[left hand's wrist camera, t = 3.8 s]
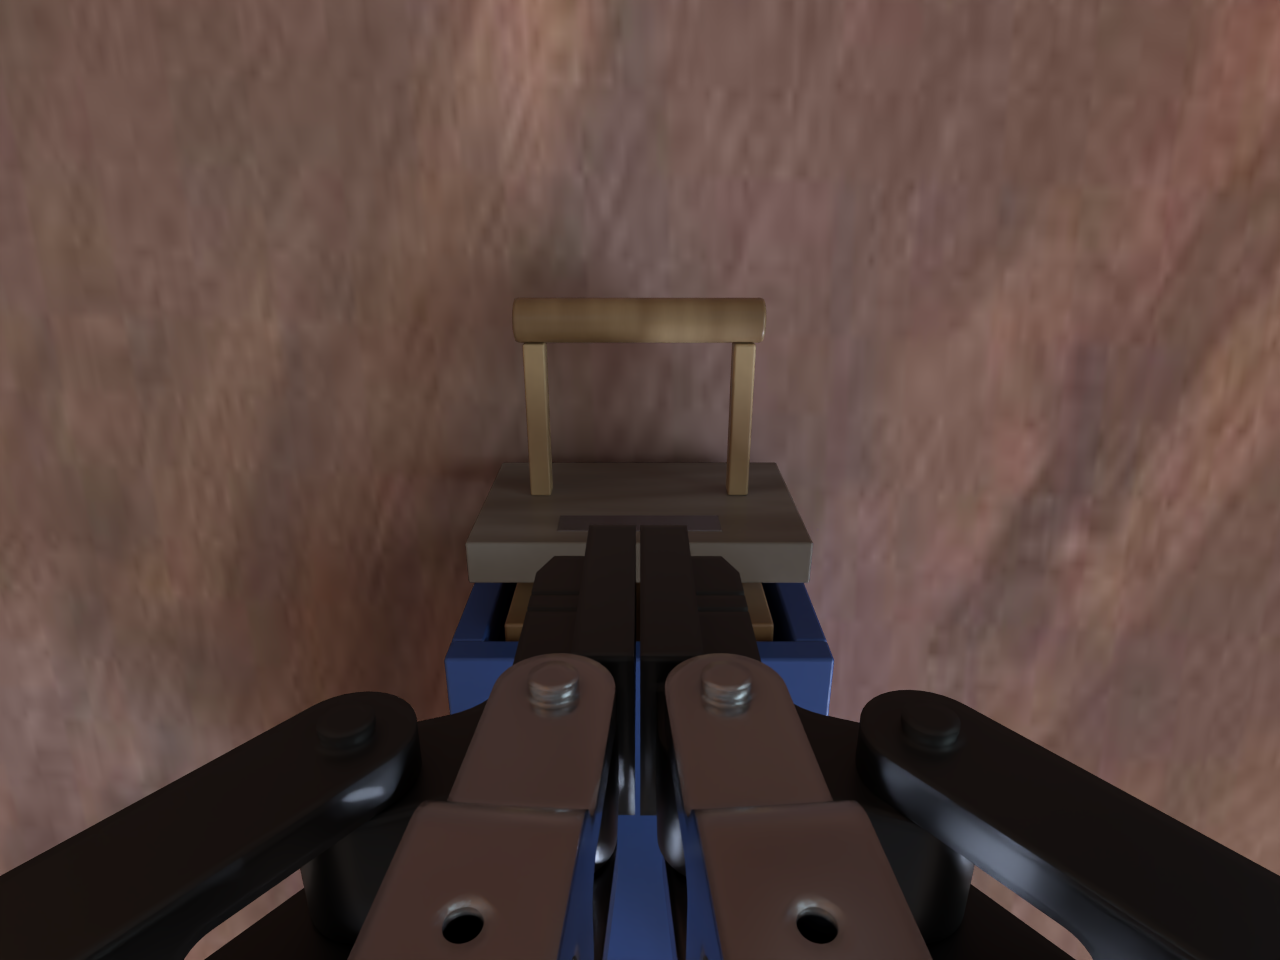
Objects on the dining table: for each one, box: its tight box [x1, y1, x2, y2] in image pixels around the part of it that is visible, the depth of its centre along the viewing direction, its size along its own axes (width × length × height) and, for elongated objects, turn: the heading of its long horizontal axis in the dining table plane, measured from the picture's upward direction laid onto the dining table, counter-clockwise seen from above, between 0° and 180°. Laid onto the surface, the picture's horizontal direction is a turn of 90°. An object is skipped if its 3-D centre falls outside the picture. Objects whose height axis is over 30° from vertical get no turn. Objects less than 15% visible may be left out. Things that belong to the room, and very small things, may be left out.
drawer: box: [465, 298, 813, 641], centre depth 25 cm, size 23×9×6 cm, turn 0°
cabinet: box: [444, 583, 834, 960], centre depth 27 cm, size 18×10×8 cm, turn 0°
